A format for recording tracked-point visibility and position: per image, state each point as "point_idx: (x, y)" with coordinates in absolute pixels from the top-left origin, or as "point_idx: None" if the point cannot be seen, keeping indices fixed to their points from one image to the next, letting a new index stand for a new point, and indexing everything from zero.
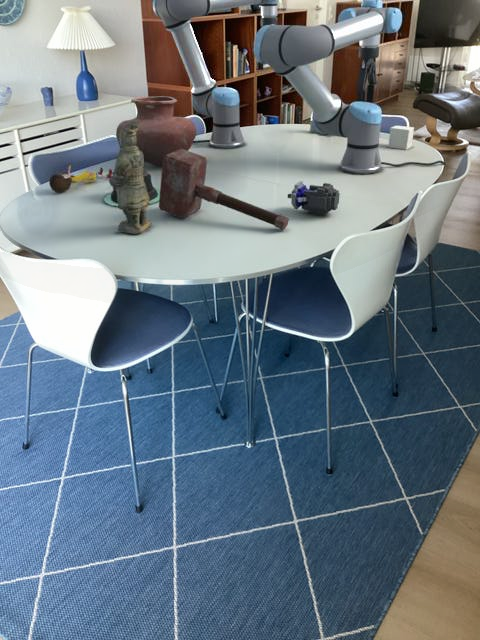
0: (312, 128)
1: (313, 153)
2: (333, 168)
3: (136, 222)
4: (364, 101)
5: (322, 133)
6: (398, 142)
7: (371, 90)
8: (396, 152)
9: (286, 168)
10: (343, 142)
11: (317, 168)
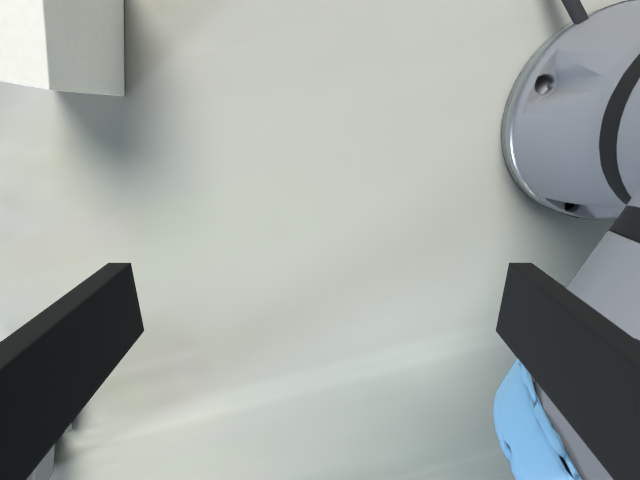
0: (47, 477)
1: (377, 371)
2: None
3: None
4: (582, 306)
5: (70, 426)
6: (104, 28)
7: (42, 379)
8: (209, 21)
9: None
10: (142, 318)
11: None
